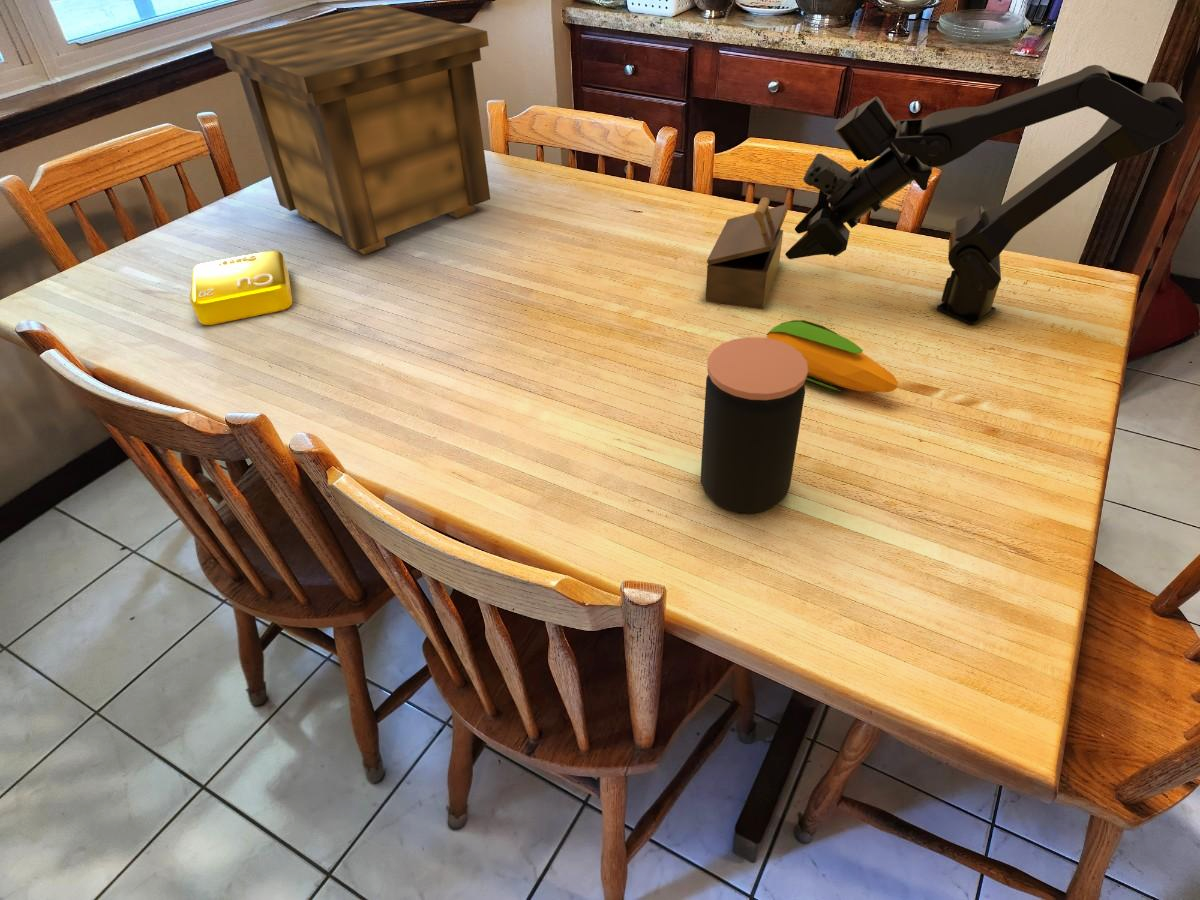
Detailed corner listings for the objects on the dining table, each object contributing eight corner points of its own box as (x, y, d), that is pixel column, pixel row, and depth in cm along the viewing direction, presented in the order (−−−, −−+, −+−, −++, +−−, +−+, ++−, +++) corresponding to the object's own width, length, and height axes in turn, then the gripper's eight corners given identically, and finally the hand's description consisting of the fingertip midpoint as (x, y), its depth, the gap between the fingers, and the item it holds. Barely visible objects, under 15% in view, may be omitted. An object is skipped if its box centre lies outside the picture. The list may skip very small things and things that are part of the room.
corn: (784, 299, 114) (918, 346, 104) (780, 342, 119) (907, 391, 109) (756, 324, 110) (891, 376, 100) (753, 367, 115) (882, 421, 105)
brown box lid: (788, 208, 131) (781, 181, 129) (772, 250, 120) (763, 222, 118) (729, 223, 136) (721, 197, 134) (708, 265, 125) (698, 238, 123)
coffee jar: (778, 455, 100) (796, 333, 88) (797, 515, 92) (819, 390, 80) (694, 460, 100) (700, 338, 88) (706, 520, 92) (714, 396, 80)
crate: (267, 216, 162) (210, 40, 140) (412, 166, 179) (380, 4, 158) (355, 271, 142) (303, 77, 121) (508, 209, 159) (487, 31, 138)
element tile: (288, 269, 143) (280, 245, 140) (293, 309, 133) (285, 283, 130) (200, 286, 140) (190, 262, 137) (199, 328, 129) (187, 302, 126)
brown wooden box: (779, 264, 138) (783, 229, 134) (762, 309, 127) (766, 273, 123) (726, 257, 140) (728, 223, 136) (705, 301, 129) (707, 265, 125)
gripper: (850, 118, 121) (770, 182, 131) (835, 164, 108) (747, 231, 118) (893, 174, 124) (812, 232, 134) (884, 225, 111) (794, 285, 121)
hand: (791, 243), depth 127 cm, fingers open, 9 cm apart
